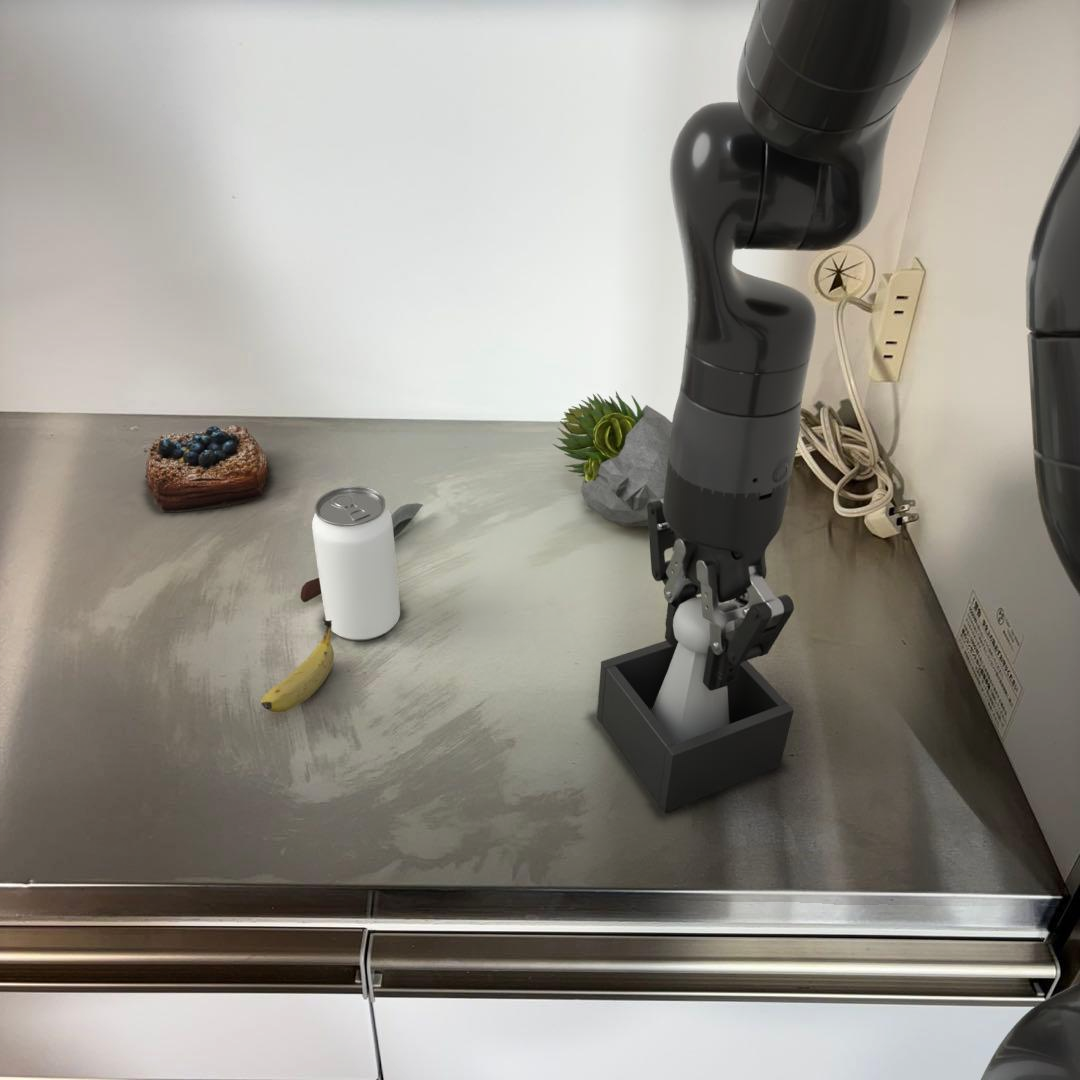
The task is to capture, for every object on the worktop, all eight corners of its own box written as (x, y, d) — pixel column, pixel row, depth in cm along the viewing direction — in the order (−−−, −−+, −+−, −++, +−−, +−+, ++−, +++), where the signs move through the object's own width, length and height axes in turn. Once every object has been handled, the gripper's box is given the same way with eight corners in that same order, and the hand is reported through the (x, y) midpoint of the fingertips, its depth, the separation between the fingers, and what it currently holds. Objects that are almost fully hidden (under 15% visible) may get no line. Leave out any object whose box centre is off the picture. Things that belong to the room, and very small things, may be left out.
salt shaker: (730, 771, 72) (756, 639, 64) (652, 771, 71) (670, 638, 64) (717, 713, 76) (741, 584, 69) (645, 713, 76) (660, 583, 69)
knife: (417, 510, 99) (416, 486, 97) (430, 515, 98) (428, 490, 96) (298, 611, 85) (293, 585, 84) (311, 617, 85) (307, 590, 83)
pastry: (149, 464, 105) (137, 416, 101) (262, 447, 108) (254, 400, 105) (151, 519, 96) (138, 469, 93) (274, 499, 100) (266, 450, 96)
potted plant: (645, 542, 89) (512, 461, 92) (659, 552, 101) (541, 480, 105) (715, 430, 88) (578, 352, 92) (720, 453, 101) (599, 384, 104)
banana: (286, 743, 73) (279, 705, 71) (258, 735, 74) (250, 698, 71) (347, 656, 81) (342, 620, 78) (321, 650, 81) (316, 614, 79)
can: (375, 586, 88) (363, 474, 81) (415, 622, 84) (406, 508, 77) (312, 614, 85) (294, 500, 78) (350, 654, 81) (335, 537, 74)
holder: (780, 766, 72) (794, 709, 69) (664, 813, 68) (672, 755, 65) (705, 680, 79) (714, 624, 76) (596, 717, 76) (600, 661, 72)
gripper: (619, 416, 63) (604, 617, 73) (749, 532, 53) (710, 748, 63) (715, 394, 66) (688, 591, 76) (857, 501, 55) (803, 712, 65)
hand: (698, 661), depth 69 cm, fingers closed on salt shaker, 4 cm apart
